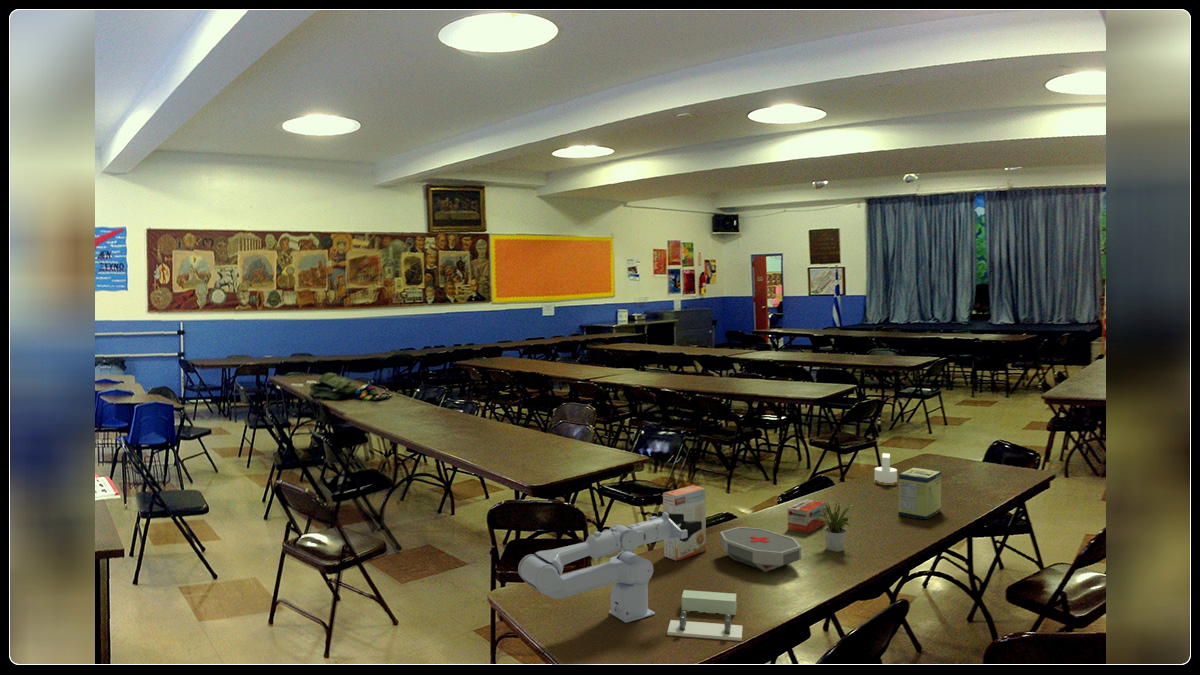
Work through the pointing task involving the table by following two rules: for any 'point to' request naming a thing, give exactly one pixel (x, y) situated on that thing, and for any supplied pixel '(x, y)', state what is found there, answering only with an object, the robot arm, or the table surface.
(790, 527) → the medicine box
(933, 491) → the protein box
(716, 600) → the pale green block
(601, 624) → the table surface
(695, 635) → the peg stand
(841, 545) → the house plant
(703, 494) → the cracker box
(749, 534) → the first aid kit
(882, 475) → the cylinder with rectangular tab
